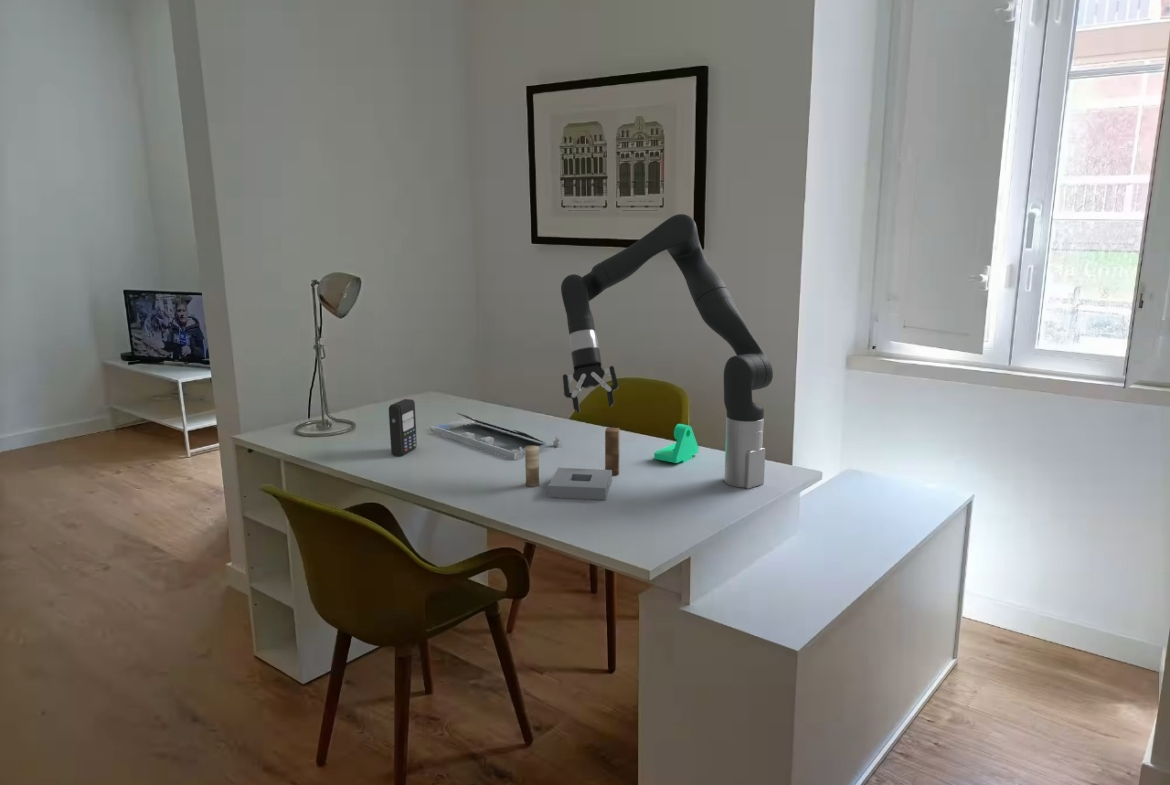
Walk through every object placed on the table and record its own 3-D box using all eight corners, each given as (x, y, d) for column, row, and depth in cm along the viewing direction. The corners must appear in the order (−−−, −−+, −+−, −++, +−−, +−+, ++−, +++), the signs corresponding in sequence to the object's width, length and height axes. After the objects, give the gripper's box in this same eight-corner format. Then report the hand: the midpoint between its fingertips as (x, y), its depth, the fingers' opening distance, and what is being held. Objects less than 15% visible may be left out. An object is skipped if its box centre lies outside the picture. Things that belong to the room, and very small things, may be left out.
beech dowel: (541, 485, 211) (541, 447, 209) (530, 488, 209) (529, 450, 207) (534, 481, 214) (533, 444, 212) (523, 484, 212) (522, 446, 210)
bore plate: (611, 481, 214) (611, 469, 214) (605, 499, 201) (605, 488, 200) (558, 478, 216) (558, 467, 216) (548, 497, 203) (548, 485, 202)
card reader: (402, 457, 235) (399, 406, 231) (389, 456, 236) (386, 405, 233) (418, 448, 243) (416, 399, 240) (406, 447, 244) (404, 398, 241)
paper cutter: (514, 461, 232) (514, 442, 231) (425, 431, 263) (424, 414, 262) (562, 448, 244) (562, 430, 243) (471, 420, 276) (470, 404, 274)
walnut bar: (619, 471, 222) (619, 428, 219) (617, 475, 219) (618, 431, 216) (606, 470, 222) (606, 427, 220) (605, 474, 219) (605, 431, 216)
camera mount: (674, 451, 240) (675, 417, 238) (698, 456, 235) (699, 421, 233) (652, 461, 230) (653, 426, 228) (676, 467, 226) (677, 430, 224)
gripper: (612, 347, 223) (622, 406, 220) (560, 356, 224) (569, 415, 221) (610, 342, 215) (620, 403, 213) (556, 351, 217) (566, 412, 214)
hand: (594, 409), depth 217 cm, fingers open, 8 cm apart
